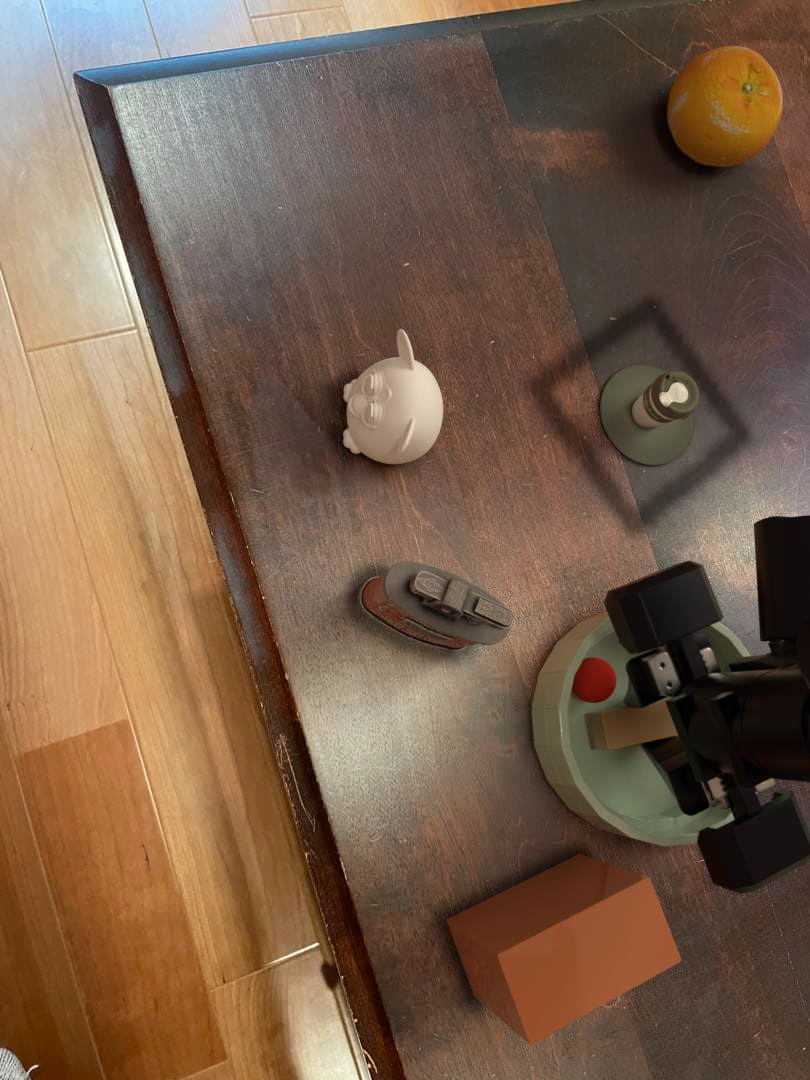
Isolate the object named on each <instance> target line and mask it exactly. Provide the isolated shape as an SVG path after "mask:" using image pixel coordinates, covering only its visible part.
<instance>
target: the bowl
mask: <svg viewBox="0 0 810 1080" xmlns="http://www.w3.org/2000/svg"><path fill="white" fill-rule="evenodd" d="M696 632H703V633H704V634H706V636H707V637H708V639H709V641H710V644H711V646H712V649H713V652H714V654H715V657H716V659H717V662H718V664H719V667H720V669H721V673H726V672H731V670H730V667H729V665H728V664H729V663H731V662H733V661H736V660H738V659H740V658H742V657H746V656H752V655H751V653H750V652H749V650H747V648H746V647H745V645H744V644H743V643H742V641H741V640H740V639H739V638H738V636H737V635H736V634H735V633H734V631H732V630H730V629H729V628H728V627H727V626H725V625H724V624H722V622H720V621H719V622H717V623H715V624H712V625H710V626H708V627H705V628H703V629H700V630H698V631H696ZM693 633H695V632H693ZM654 649H655V648H654ZM651 650H653V649H651ZM648 651H650V650H648ZM648 651H645V652H641V653H636V654H630V653H629V652H628V651H627V650H626V649H625V648H624V647H623V646H622V645H621V644H620V643H619V641H618V638H617V636H616V633H615V631H614V628H613V625H612V623H611V620H610V618H609V615H608V613H607V610H606V611H603V612H601V613H598V614H596V615H594V616H591V617H588V618H586V619H584V620H581V621H580V622H578V623H577V624H576V625H575V626H573V628H572V629H570V631H568V632H567V633H566V634H565V635H564V636H563V637H562V638H560V639H559V640H558V641H557V642H556V643H555V645H554V646H553V648H552V650H551V651H550V654H549V655H548V657H547V658H546V661H545V662H544V664H543V665H542V667H541V670H540V671H539V673H538V677H537V681H536V684H535V689H534V694H533V695H534V696H533V699H532V702H531V703H532V704H531V721H532V722H531V723H532V732H533V733H532V734H533V745H534V746H533V747H534V750H535V752H536V755H537V758H538V761H539V762H540V765H541V769H542V771H543V773H544V777H545V778H546V781H547V782H548V784H549V785H550V786H551V787H552V789H553V790H554V791H555V793H556V795H557V796H559V798H560V799H561V801H563V803H564V804H565V806H566V807H567V808H568V809H569V811H571V812H572V813H574V814H575V815H577V817H579V818H581V819H583V820H584V821H585V822H587V823H588V824H590V825H591V826H593V827H594V828H596V829H597V830H599V831H603V832H607V833H609V834H610V833H611V834H615V835H618V836H622V837H626V838H630V839H634V840H637V841H640V842H645V843H648V844H651V845H656V846H660V847H674V846H675V847H676V846H685V845H695V844H697V839H698V834H699V831H700V830H702V829H704V828H706V827H710V828H715V829H717V828H719V827H721V826H723V825H725V824H727V823H729V822H731V821H733V820H735V819H734V817H733V814H732V811H731V809H730V808H729V809H727V810H726V809H720V807H719V805H718V804H717V806H716V807H710V808H708V809H706V810H704V811H702V812H700V813H698V814H696V815H693V816H688V815H685V814H684V813H682V812H681V810H680V808H679V806H678V803H677V801H676V799H675V798H674V796H673V794H672V793H671V791H670V790H669V788H668V786H667V785H666V783H665V782H664V780H663V778H662V777H661V775H660V774H659V772H658V771H657V769H656V768H655V766H654V765H653V763H652V762H651V760H650V759H649V758H648V756H647V755H646V753H645V752H644V750H643V749H642V747H641V745H640V744H637V745H632V746H627V747H623V748H618V749H614V750H592V749H591V747H590V742H589V737H588V732H587V727H586V722H585V717H584V714H585V713H590V712H595V711H600V710H605V709H610V708H615V707H620V706H625V703H624V701H623V699H624V697H625V695H626V693H627V691H628V681H629V678H628V675H627V672H626V664H627V662H628V661H629V660H630V659H632V658H634V657H636V656H639V655H641V654H643V653H646V652H648ZM590 657H596V658H600V659H603V660H605V661H606V662H607V663H609V664H610V665H611V667H612V668H613V670H614V672H615V674H616V687H615V690H614V692H613V694H612V695H611V696H610V697H609V698H608V699H606V700H605V701H602V702H599V703H589V702H585V701H583V700H581V699H580V698H579V697H578V696H577V695H576V694H575V693H574V691H573V690H572V685H573V680H574V676H575V674H576V672H577V670H578V668H579V666H580V665H581V663H582V661H583V659H585V658H590ZM676 737H679V736H676ZM756 794H757V795H758V792H756Z"/></svg>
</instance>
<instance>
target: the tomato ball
mask: <svg viewBox="0 0 810 1080" xmlns="http://www.w3.org/2000/svg"><path fill="white" fill-rule="evenodd" d="M615 687H616V674H615V672H614V670H613V668H612V667H611V665H610V664H609V663H607V662H606V661H605V660H603V659H600V658H596V657H590V658H585V659H583V661H582V663H581V665H580V666H579V668H578V670H577V672H576V674H575V676H574V680H573V685H572V690H573V691H574V693H575V694H576V695H577V696H578V697H579V698H580V699H581V700H583V701H585V702H589V703H599V702H602V701H605V700H606V699H608V698H609V697H610V696H611V695H612V694H613V692H614V690H615Z"/></svg>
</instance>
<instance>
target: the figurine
mask: <svg viewBox="0 0 810 1080" xmlns="http://www.w3.org/2000/svg"><path fill="white" fill-rule="evenodd" d="M396 346H397V352H398V356H397V357H388V358H385V359H382V360H379V361H377V362H375V363H373V364H372V365H370V366H368V367H367V368H366V369H365V370H364V371H363V372H362V373H361V374H360V375H359V376H358V377H357V378H354V379H352V380H351V381H350V383H349V382H348V383H346V384H345V385H344V386H343V401H344V402H345V403H346V422H347V428H346V429H345V430H343V433H342V437H343V440H342V443H343V446H344V447H345V448H346V449H349V450H350V452H351V453H352V454H354V455H355V454H356V455H357V454H361V453H362V454H363V455H364V456H366V457H367V458H370V459H371V460H373V461H375V462H376V461H377V462H379V463H382V464H388V465H401V464H402V465H403V464H407V463H411V462H412V461H416V460H418V459H419V458H421V457H423V456H424V455H426V454H427V453H428V452H429V450H430V449H431V448H432V447H433V446H434V445H435V443H436V441H437V439H438V437H439V435H440V431H441V428H442V426H443V421H444V401H443V396H442V391H441V389H440V386H439V383H438V381H437V379H436V378H435V376H434V374H433V373H432V371H431V370H430V369H429V368H428V367H427V366H425V365H424V364H423V363H421V362H419V361H418V360H415V356H414V351H413V348H412V347H413V346H412V344H411V342H410V339H409V336H408V334H407V333H406V332H405V330H404V329H402V328H399V329H398V330H397V332H396Z"/></svg>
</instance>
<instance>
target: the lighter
mask: <svg viewBox="0 0 810 1080" xmlns="http://www.w3.org/2000/svg"><path fill="white" fill-rule="evenodd" d="M356 600H357V601H356V603H357V607H358V609H359V611H360V612H361V613H362V614H363V615H364V616H366V617H367V618H368V619H370V620H372V621H373V622H374V623H376V625H379V626H380V627H381V628H383V629H385V630H387V631H388V632H391V633H393V634H394V635H397V636H398V637H401V638H402V639H403V640H406V641H410V642H412V643H415V644H418V645H421V646H424V647H426V648H431V649H435V650H439V651H443V652H448V653H455V652H460V651H462V650H464V649H466V648H467V647H470V646H475V645H483V646H492V645H496V644H498V643H501V642H502V641H503V640H504V639H505V638H506V637H508V634H509V633H510V631H511V626H512V624H513V623H514V619H515V615H514V614H515V613H514V612H513V610H512V609H511V608H508V607H507V606H506V605H505V604H504V603H503V602H501V601H500V600H498V599H497V598H496V597H495V596H493V595H491V594H490V593H489V592H487V591H486V590H485V589H483V588H481V587H480V586H477V585H475V584H474V583H473V582H470V581H468V580H467V579H465V578H463V577H461V576H459V575H456V574H454V573H452V572H448V571H446V570H442V569H441V568H437V567H434V566H432V565H428V564H423V563H419V562H415V561H410V560H402V561H399V562H397V563H394V564H393V565H392V566H391V567H389V568H388V569H387V571H386V572H385V573H384V574H381V575H380V576H374V577H371V578H369V579H367V580H366V581H365V582H364V583H363V584H361V586H360V588H359V590H358V592H357V597H356Z"/></svg>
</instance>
